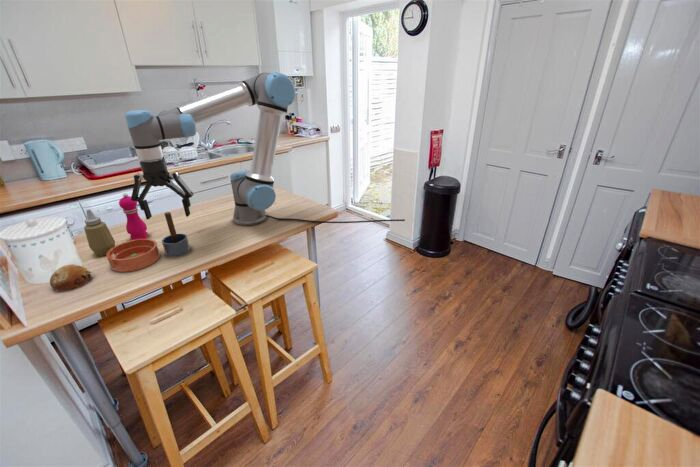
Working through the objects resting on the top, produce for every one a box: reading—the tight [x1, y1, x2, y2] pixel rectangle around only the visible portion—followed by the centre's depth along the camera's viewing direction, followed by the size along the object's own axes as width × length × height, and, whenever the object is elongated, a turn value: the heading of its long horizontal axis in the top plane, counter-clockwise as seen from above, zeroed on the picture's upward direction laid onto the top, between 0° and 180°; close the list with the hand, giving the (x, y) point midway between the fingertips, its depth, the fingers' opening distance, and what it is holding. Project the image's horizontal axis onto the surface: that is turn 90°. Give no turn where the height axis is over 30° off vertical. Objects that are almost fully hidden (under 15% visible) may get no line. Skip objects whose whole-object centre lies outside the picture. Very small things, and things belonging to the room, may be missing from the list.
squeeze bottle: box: [83, 208, 116, 257], centre depth 120 cm, size 8×8×18 cm
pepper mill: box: [118, 193, 149, 240], centre depth 130 cm, size 7×7×20 cm
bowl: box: [105, 238, 161, 273], centre depth 116 cm, size 16×16×6 cm
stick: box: [164, 211, 179, 243], centre depth 120 cm, size 2×2×16 cm
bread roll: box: [49, 263, 92, 292], centre depth 105 cm, size 10×10×8 cm
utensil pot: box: [161, 233, 191, 258], centre depth 123 cm, size 9×9×6 cm
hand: (169, 216), depth 117 cm, fingers open, 13 cm apart
